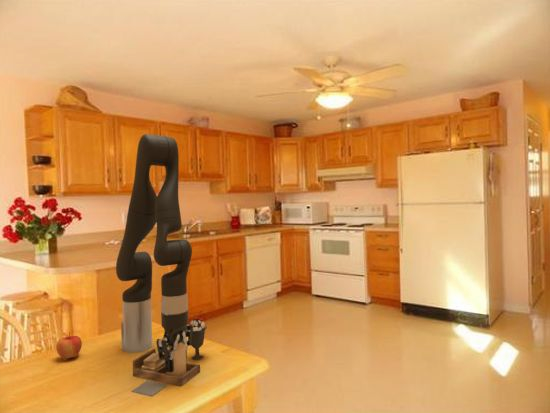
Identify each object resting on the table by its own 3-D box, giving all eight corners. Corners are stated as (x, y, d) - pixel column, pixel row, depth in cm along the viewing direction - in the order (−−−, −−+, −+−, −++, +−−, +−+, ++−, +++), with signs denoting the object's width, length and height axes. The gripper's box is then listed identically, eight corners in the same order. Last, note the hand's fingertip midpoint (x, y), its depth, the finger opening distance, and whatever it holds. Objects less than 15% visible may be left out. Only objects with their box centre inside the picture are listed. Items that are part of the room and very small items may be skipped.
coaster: (131, 393, 102) (131, 390, 102) (147, 382, 107) (147, 380, 107) (152, 397, 99) (152, 395, 99) (167, 387, 105) (167, 384, 105)
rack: (133, 377, 111) (132, 360, 110) (154, 364, 119) (153, 348, 119) (181, 387, 104) (180, 369, 104) (200, 373, 112) (199, 356, 112)
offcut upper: (143, 366, 111) (143, 360, 111) (153, 358, 116) (153, 353, 116) (155, 367, 110) (155, 361, 110) (164, 360, 115) (164, 354, 115)
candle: (190, 372, 112) (189, 339, 111) (179, 381, 107) (178, 346, 106) (173, 370, 114) (173, 337, 113) (162, 379, 108) (161, 344, 108)
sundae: (210, 354, 125) (209, 309, 125) (204, 363, 119) (203, 316, 118) (190, 354, 126) (189, 309, 125) (184, 363, 119) (182, 315, 119)
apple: (55, 364, 120) (54, 339, 120) (58, 355, 127) (57, 332, 126) (81, 360, 123) (80, 335, 123) (82, 351, 130) (81, 328, 129)
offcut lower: (141, 374, 111) (141, 366, 111) (155, 365, 117) (155, 358, 117) (153, 377, 110) (153, 369, 110) (167, 368, 115) (166, 360, 115)
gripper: (179, 301, 117) (180, 355, 118) (147, 315, 104) (148, 376, 105) (199, 303, 115) (201, 358, 115) (169, 318, 101) (171, 380, 102)
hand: (176, 366), depth 110 cm, fingers closed on candle, 5 cm apart
